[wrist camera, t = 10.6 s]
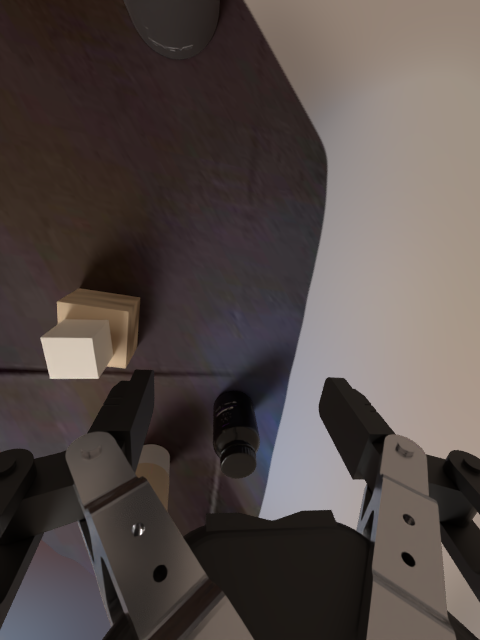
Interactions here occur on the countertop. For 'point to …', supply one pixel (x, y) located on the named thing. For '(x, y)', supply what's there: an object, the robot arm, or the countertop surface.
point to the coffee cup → (155, 470)
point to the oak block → (106, 318)
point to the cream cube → (78, 349)
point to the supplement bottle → (235, 434)
